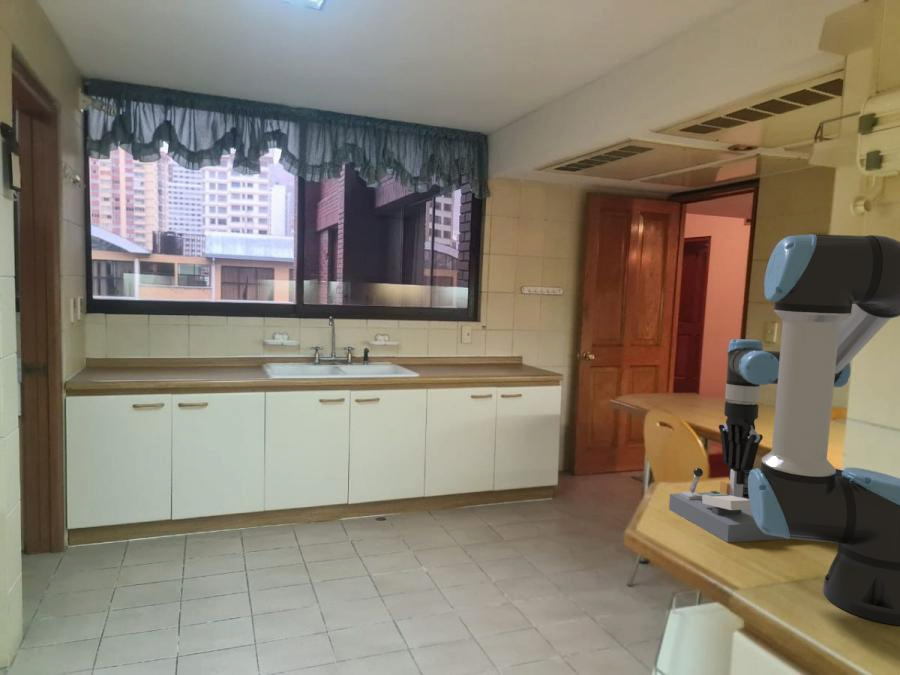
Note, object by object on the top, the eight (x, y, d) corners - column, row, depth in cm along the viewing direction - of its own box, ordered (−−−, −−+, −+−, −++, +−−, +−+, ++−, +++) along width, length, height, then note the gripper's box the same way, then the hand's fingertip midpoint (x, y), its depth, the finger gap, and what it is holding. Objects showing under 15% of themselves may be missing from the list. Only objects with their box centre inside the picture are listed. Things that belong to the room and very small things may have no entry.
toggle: (697, 495, 151) (705, 471, 148) (690, 495, 151) (698, 471, 148) (692, 489, 153) (700, 465, 150) (685, 490, 153) (693, 466, 150)
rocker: (753, 509, 136) (753, 499, 137) (731, 510, 135) (730, 500, 135) (724, 502, 146) (723, 493, 146) (702, 503, 145) (702, 494, 145)
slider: (739, 498, 151) (740, 483, 150) (726, 499, 150) (726, 483, 150) (733, 495, 153) (734, 480, 153) (719, 496, 152) (720, 480, 152)
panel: (795, 538, 137) (796, 514, 137) (727, 542, 133) (729, 518, 133) (728, 506, 159) (730, 485, 158) (668, 508, 155) (669, 487, 154)
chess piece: (758, 500, 165) (761, 457, 164) (737, 499, 165) (739, 456, 164) (748, 493, 171) (751, 452, 170) (727, 493, 171) (730, 451, 170)
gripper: (774, 406, 143) (767, 503, 144) (736, 397, 155) (730, 487, 157) (747, 406, 141) (741, 504, 142) (711, 397, 154) (705, 488, 155)
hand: (735, 495), depth 149 cm, fingers closed
